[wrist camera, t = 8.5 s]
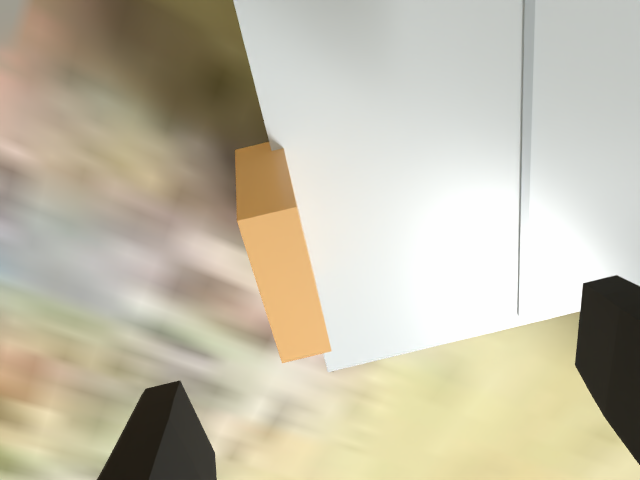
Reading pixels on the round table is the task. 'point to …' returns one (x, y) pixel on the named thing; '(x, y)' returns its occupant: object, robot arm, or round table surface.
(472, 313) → the lid
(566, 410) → the round table surface
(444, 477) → the round table surface
